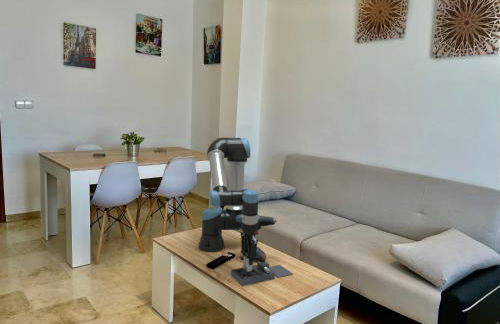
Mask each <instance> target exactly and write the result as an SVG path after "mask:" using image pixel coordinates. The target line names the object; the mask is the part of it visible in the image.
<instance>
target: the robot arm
mask: <svg viewBox="0 0 500 324" xmlns="http://www.w3.org/2000/svg"><path fill="white" fill-rule="evenodd" d="M250 158H251V146H250V142H249V140H248V139H247V138H246V137H218V138H216V139H214V140H213V141H212V142H211V143H210V144H209V146H208V148H207V151H206V159H207V161H208V162H209V168H210V169H209V170H210V179H211V188H212V190H210V191H209V194H208V197H209V198H208V202H209V205H210V206H211V207H208V208H205V209H204V210H203V211H202V214H201V215H202V216H201V236H200V238H199V241H198V249H199V250H200V251H203V252H206V253H207V252H209V253H216V252H220V251H223V250H224V249H225V241H224V237H223V234H222V233H223V231H240V230H241V231H242V232H240V243H241V244H240V247H241V248H240V253H241V252H243V254H245V252H246V251H248V257H247V271H252V267H253V265H254V264H253V263H254V262H253V258H256V250H257V247H258V243H259V239H256V235H255V232H256V231H257V222H258V215H259V214H258V213H259V192H258V191H257V190H254V189H247V188H244V187H245V184H244V183H245V164H246V163H248V159H250ZM224 159H226V161H227V163H228V164H229V175H228V176H229V179H228V184H227V177H226V176H227V174H226V171H225V170H226V168H225V162H224ZM224 206H225V209H223V208H222V207H224ZM237 215H242V228H238V227H237V226H236V224H235V218H236V216H237ZM242 264H243V267H242V268H244V269H245V256H244V261H243V263H242Z"/></svg>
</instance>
